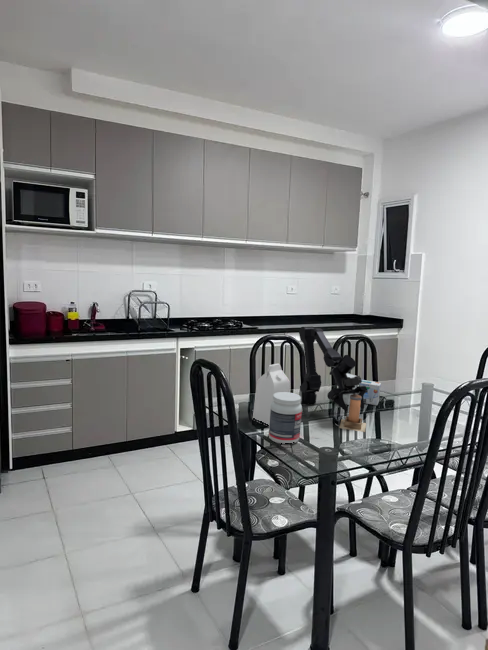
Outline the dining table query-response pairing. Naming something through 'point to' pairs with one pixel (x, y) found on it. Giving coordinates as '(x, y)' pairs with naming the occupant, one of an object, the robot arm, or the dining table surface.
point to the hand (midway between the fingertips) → (354, 409)
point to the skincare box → (347, 396)
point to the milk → (269, 391)
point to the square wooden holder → (353, 425)
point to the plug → (354, 408)
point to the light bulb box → (371, 392)
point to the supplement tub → (285, 418)
